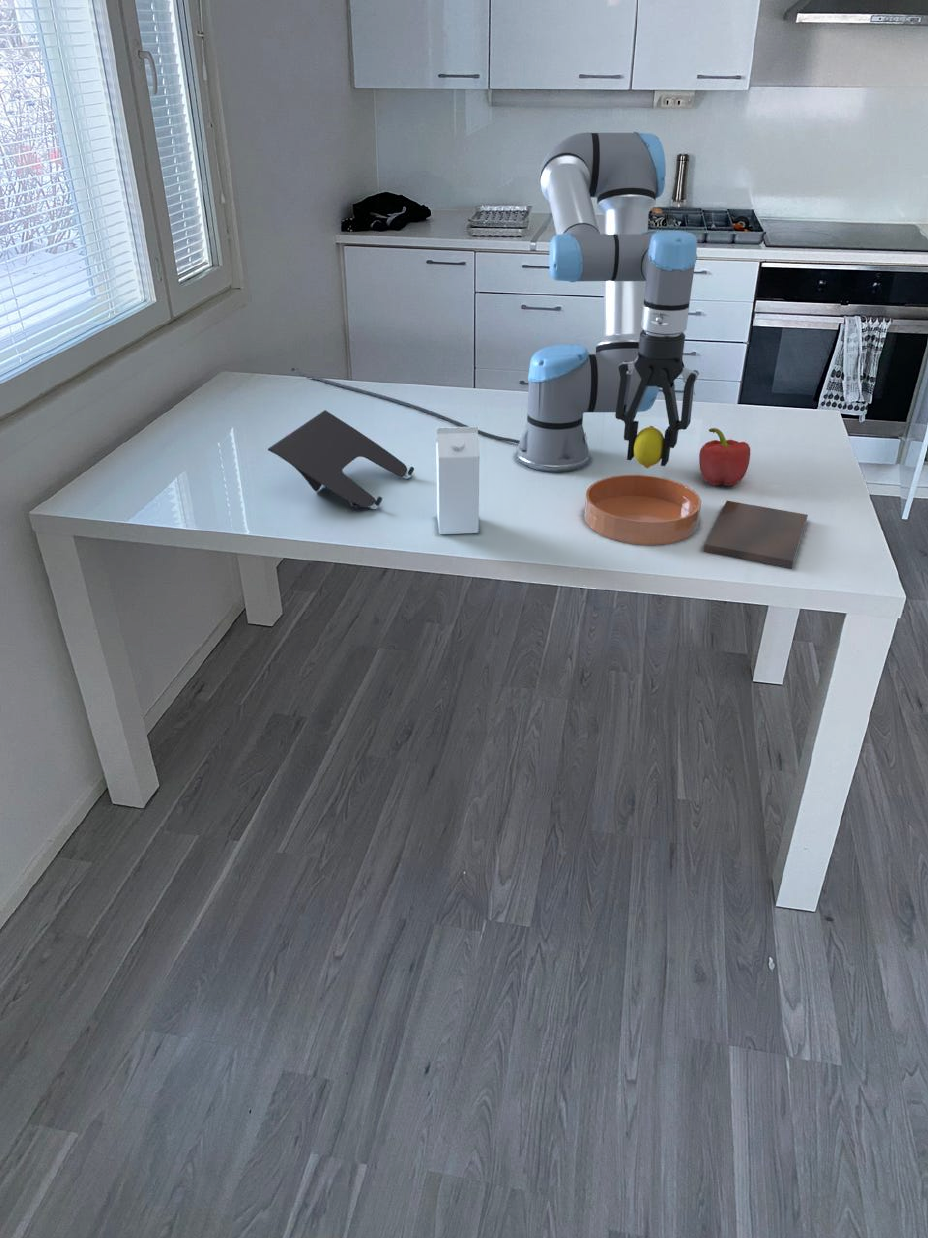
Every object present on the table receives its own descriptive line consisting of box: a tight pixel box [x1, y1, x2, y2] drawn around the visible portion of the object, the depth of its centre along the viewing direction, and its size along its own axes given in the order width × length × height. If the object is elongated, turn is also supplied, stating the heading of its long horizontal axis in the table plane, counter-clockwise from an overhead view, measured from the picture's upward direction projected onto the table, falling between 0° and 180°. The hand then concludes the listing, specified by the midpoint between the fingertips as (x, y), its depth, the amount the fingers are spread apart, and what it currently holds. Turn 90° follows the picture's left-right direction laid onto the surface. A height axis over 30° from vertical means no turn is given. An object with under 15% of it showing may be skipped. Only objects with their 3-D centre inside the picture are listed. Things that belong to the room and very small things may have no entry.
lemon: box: [633, 425, 664, 469], centre depth 168 cm, size 6×6×8 cm
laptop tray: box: [267, 409, 415, 510], centre depth 186 cm, size 23×23×9 cm
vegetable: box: [698, 427, 751, 487], centre depth 188 cm, size 11×10×10 cm
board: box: [703, 500, 809, 570], centre depth 169 cm, size 15×20×2 cm
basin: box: [583, 474, 702, 546], centre depth 174 cm, size 21×21×4 cm
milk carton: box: [435, 426, 481, 535], centre depth 168 cm, size 7×7×19 cm
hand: (647, 460), depth 169 cm, fingers closed on lemon, 6 cm apart
